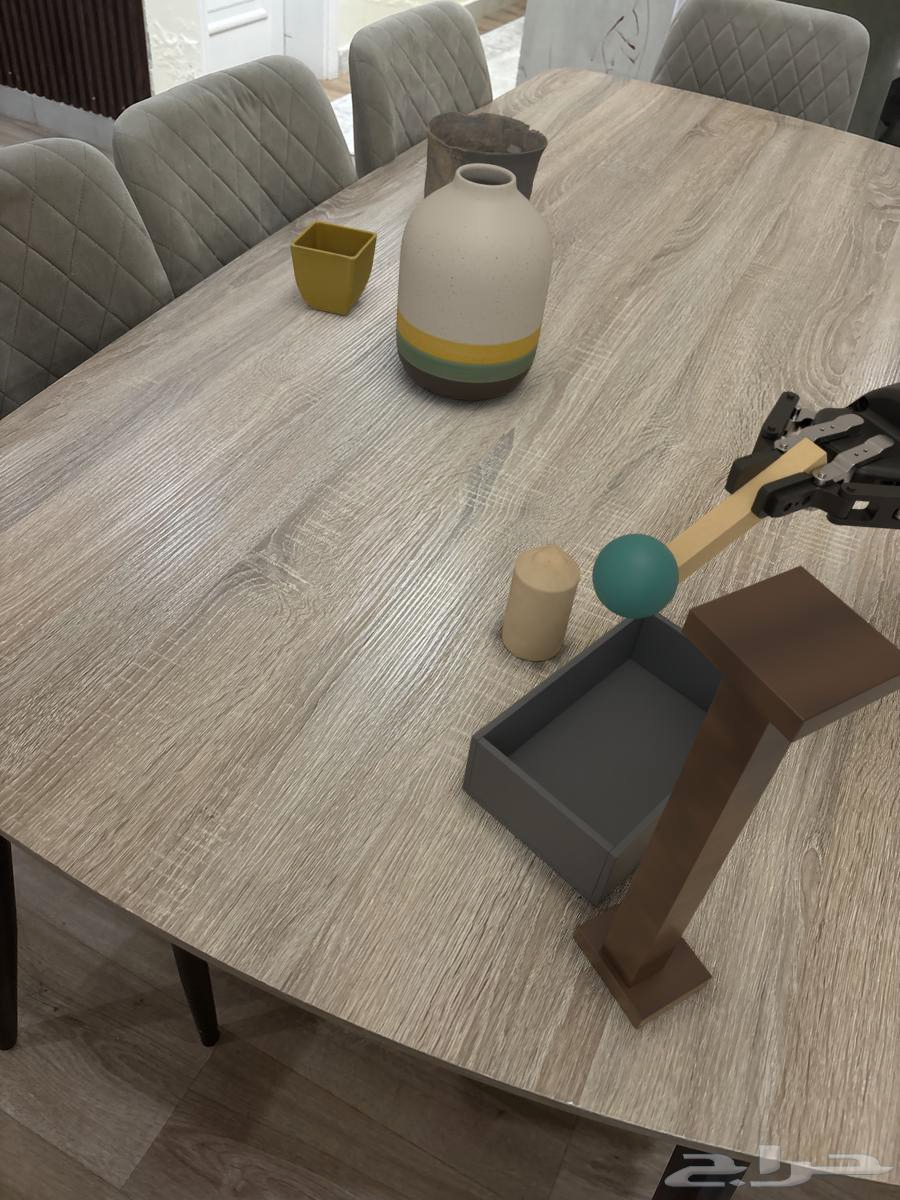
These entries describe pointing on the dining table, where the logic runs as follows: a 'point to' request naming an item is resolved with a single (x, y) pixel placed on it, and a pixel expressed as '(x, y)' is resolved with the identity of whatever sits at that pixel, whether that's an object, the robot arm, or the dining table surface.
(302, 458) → the dining table surface
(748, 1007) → the dining table surface
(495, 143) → the dark brown chipped pot
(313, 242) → the flower pot
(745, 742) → the stand
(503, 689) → the dining table surface
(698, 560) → the rattle
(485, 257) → the vase
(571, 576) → the candle
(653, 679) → the bin
